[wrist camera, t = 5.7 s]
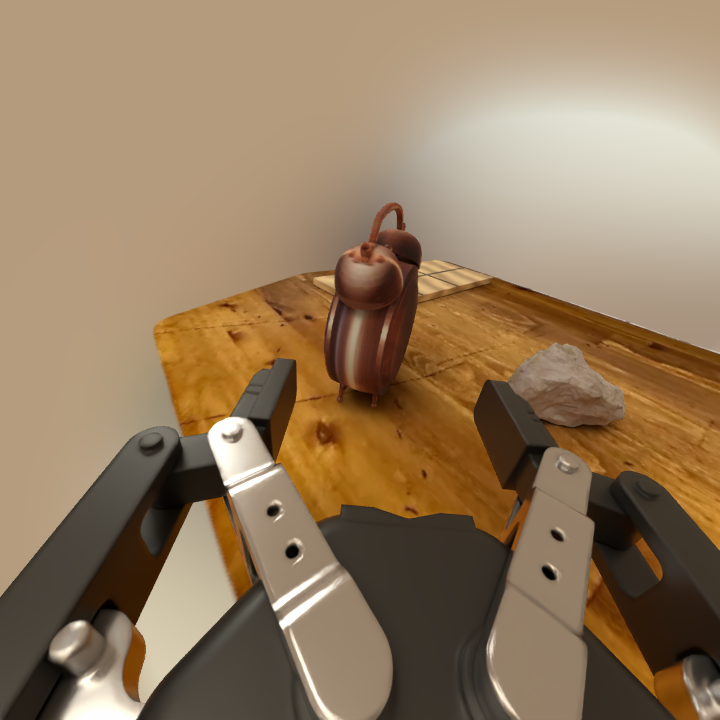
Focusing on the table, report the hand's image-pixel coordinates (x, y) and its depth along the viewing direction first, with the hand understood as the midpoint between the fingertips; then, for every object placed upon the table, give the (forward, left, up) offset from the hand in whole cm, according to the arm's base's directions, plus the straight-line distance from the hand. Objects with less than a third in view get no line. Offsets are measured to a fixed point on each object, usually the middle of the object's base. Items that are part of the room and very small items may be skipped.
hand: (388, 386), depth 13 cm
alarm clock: (-2, +12, -9) cm, 15 cm away
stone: (+14, +14, -9) cm, 22 cm away
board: (0, +45, -9) cm, 46 cm away
